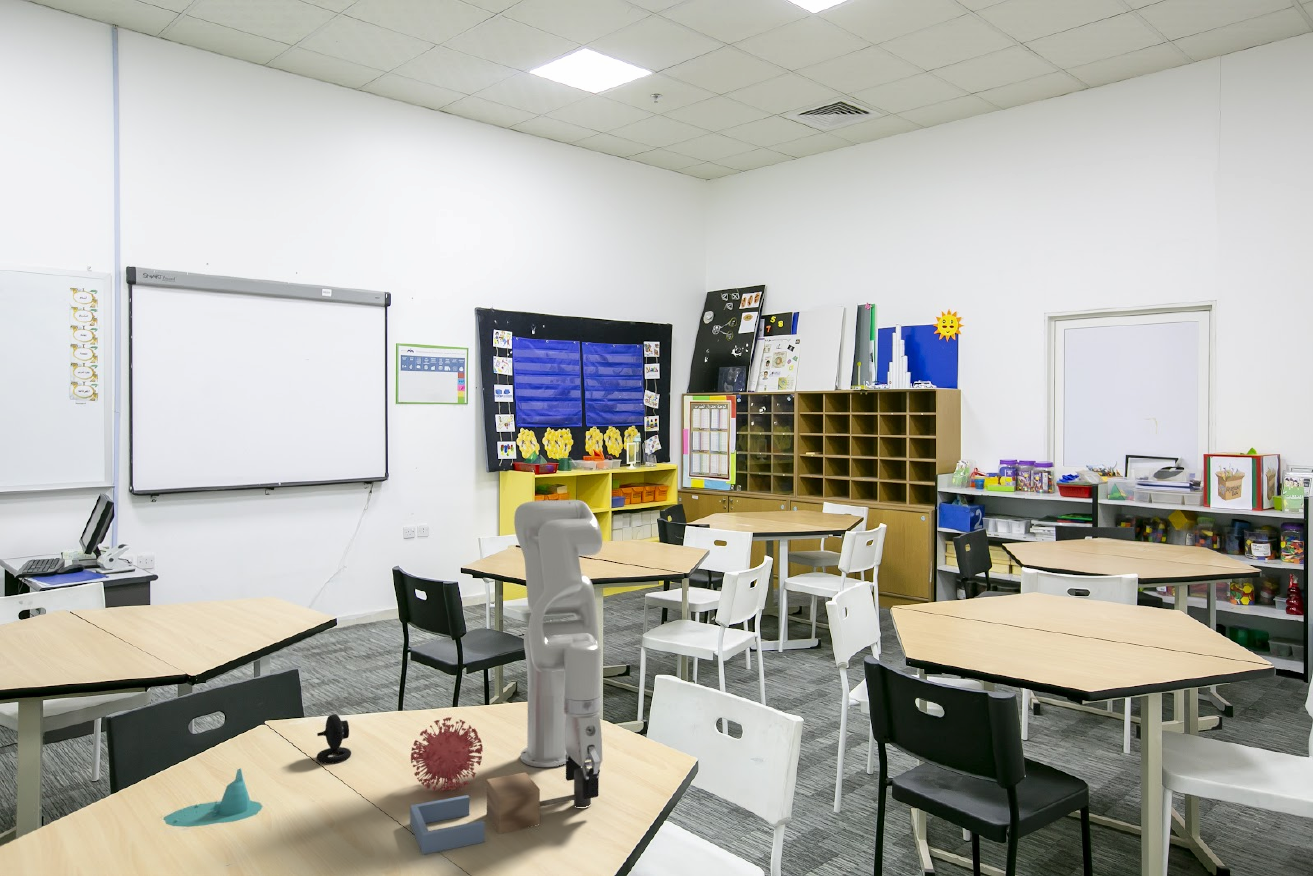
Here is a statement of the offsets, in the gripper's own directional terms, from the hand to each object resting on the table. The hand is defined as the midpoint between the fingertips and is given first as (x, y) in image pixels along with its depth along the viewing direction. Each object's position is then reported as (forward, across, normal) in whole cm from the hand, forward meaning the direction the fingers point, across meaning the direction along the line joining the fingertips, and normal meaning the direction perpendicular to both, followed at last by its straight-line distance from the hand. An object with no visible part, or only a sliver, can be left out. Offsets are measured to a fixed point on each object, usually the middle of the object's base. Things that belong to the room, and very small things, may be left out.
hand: (581, 788), depth 171 cm
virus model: (+4, +20, +23) cm, 31 cm away
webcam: (+4, +48, +43) cm, 65 cm away
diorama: (+4, +28, +67) cm, 73 cm away
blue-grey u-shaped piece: (+4, 0, +27) cm, 27 cm away
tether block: (+4, 0, +8) cm, 9 cm away
